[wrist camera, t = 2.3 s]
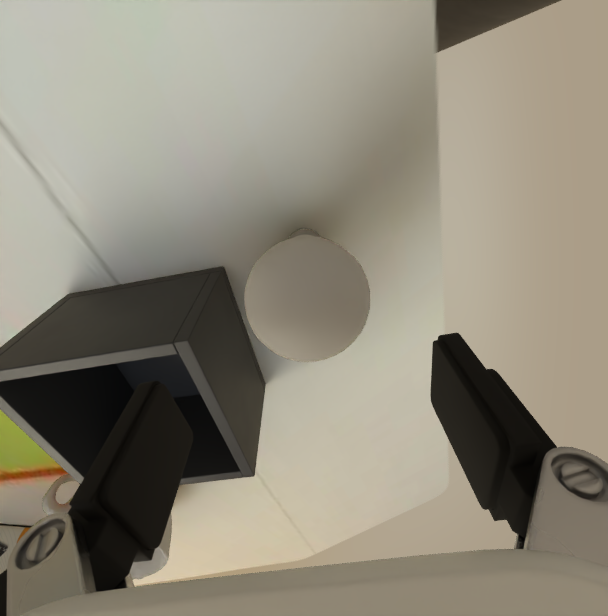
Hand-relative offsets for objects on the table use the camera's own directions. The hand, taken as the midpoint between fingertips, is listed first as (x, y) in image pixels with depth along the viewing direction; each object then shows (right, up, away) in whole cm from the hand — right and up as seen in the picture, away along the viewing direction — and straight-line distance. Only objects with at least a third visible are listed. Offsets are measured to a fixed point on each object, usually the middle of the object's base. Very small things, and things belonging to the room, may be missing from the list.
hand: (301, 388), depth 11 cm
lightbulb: (0, +8, +11) cm, 14 cm away
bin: (-11, 0, +16) cm, 19 cm away
